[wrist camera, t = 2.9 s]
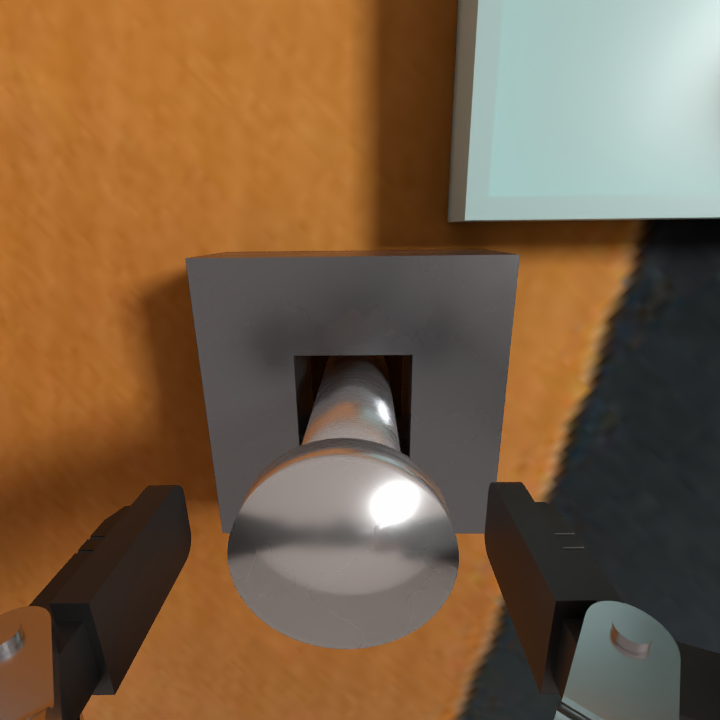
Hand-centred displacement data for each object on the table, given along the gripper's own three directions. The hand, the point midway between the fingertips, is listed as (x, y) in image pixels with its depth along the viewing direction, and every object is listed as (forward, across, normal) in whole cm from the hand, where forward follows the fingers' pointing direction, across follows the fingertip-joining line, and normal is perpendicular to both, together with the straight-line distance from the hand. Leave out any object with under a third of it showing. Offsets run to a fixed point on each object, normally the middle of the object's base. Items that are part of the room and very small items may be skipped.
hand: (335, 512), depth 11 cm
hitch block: (+11, 0, 0) cm, 11 cm away
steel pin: (+11, 0, 0) cm, 11 cm away
